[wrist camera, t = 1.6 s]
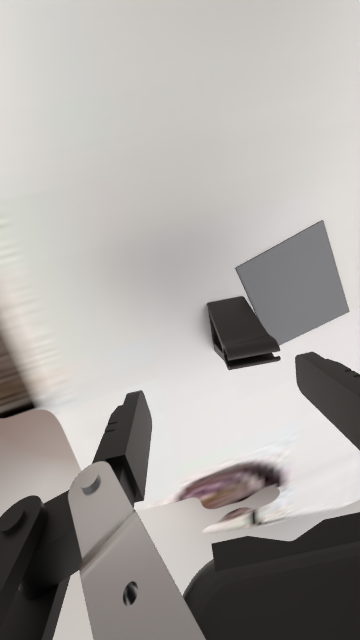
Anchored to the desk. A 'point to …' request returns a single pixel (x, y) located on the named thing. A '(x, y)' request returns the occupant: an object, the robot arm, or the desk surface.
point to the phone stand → (240, 334)
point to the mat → (295, 285)
